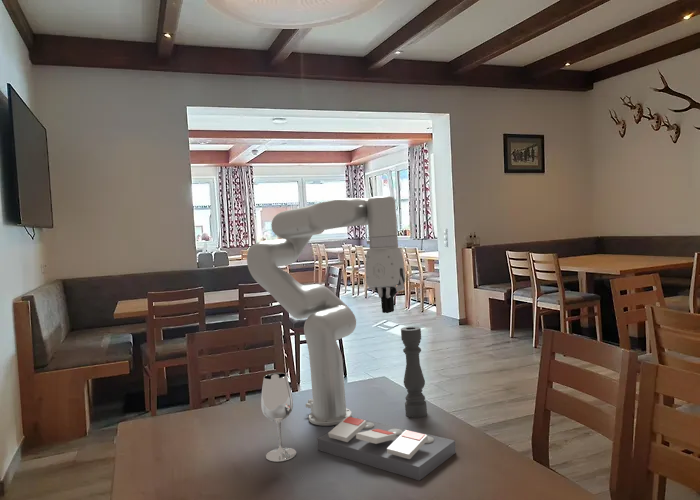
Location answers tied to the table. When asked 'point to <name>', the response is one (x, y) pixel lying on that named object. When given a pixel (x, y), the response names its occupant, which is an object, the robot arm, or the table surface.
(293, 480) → the table surface
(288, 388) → the wineglass
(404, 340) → the candle holder
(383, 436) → the rocker
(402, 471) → the power strip
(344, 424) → the rocker
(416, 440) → the rocker
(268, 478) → the table surface
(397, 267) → the robot arm
